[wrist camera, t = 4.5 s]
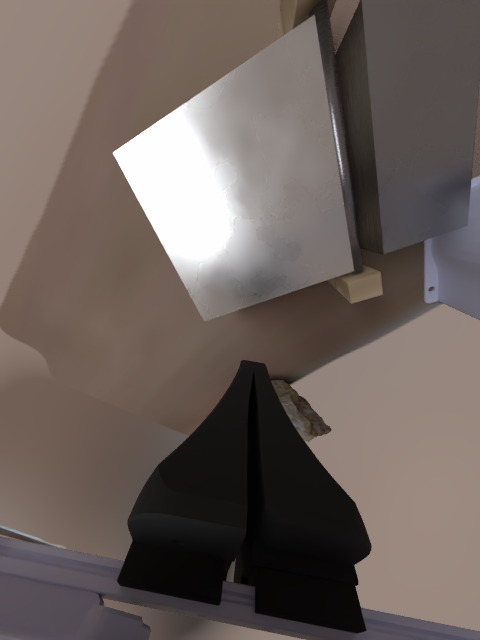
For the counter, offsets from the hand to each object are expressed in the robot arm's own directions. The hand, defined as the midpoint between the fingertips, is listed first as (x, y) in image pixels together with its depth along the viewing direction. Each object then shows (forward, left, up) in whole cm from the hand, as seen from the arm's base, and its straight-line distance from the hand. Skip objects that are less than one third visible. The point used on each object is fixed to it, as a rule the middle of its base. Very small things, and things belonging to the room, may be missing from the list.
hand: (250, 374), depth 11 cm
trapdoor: (+8, -8, -6) cm, 13 cm away
